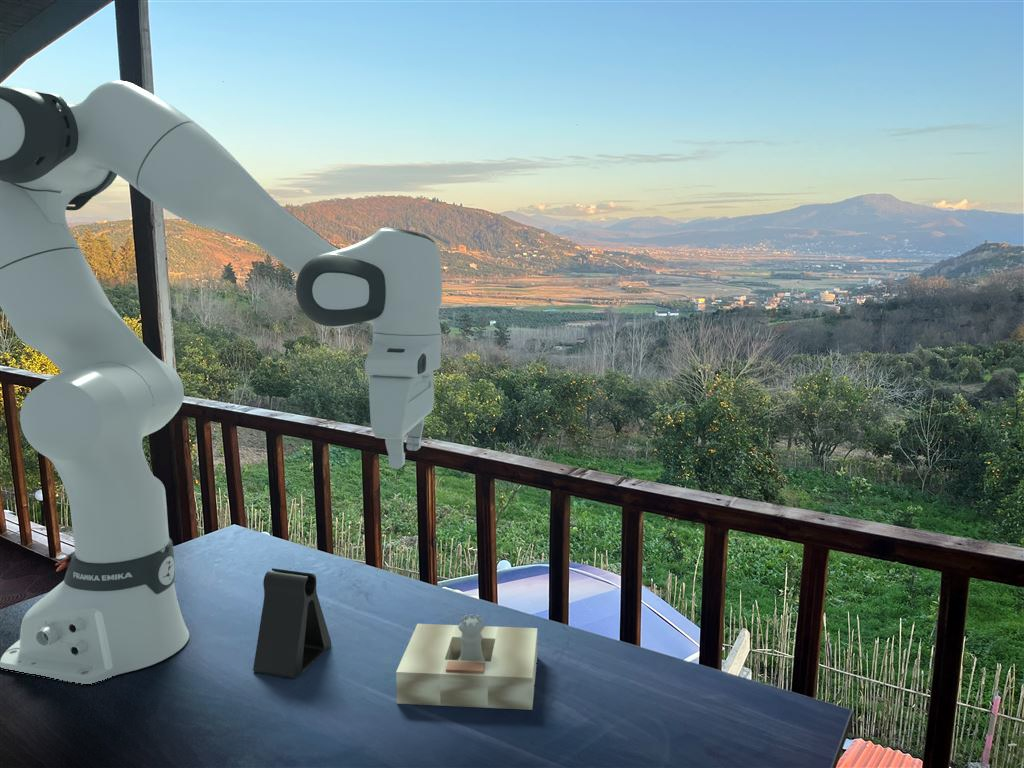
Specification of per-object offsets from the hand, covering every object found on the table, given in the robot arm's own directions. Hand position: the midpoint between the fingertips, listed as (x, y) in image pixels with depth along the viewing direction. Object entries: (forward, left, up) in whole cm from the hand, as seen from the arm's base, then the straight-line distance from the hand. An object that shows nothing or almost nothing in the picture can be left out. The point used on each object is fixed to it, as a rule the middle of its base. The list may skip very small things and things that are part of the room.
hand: (405, 457), depth 97 cm
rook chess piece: (+10, -9, -26) cm, 29 cm away
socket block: (+10, -9, -26) cm, 29 cm away
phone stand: (-14, -6, -26) cm, 30 cm away
